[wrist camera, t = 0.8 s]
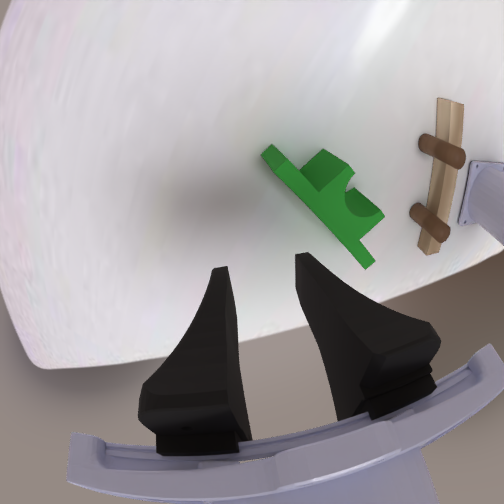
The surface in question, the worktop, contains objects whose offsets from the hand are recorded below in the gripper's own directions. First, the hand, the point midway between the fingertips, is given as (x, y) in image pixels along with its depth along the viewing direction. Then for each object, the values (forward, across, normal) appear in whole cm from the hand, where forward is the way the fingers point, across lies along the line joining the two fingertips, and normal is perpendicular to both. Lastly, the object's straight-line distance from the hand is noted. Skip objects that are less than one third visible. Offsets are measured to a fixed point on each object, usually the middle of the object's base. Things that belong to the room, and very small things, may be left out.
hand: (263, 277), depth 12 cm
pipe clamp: (+10, -7, 0) cm, 12 cm away
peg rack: (+9, -18, 0) cm, 20 cm away
